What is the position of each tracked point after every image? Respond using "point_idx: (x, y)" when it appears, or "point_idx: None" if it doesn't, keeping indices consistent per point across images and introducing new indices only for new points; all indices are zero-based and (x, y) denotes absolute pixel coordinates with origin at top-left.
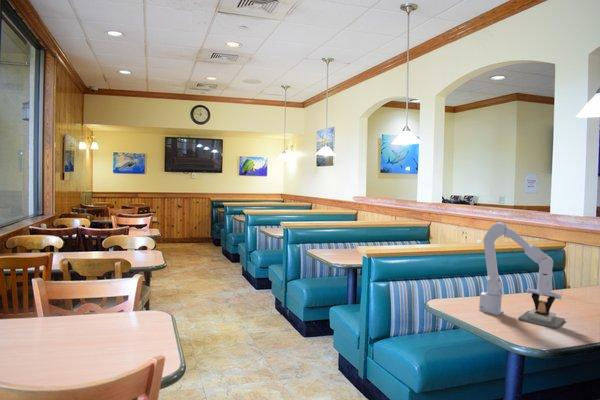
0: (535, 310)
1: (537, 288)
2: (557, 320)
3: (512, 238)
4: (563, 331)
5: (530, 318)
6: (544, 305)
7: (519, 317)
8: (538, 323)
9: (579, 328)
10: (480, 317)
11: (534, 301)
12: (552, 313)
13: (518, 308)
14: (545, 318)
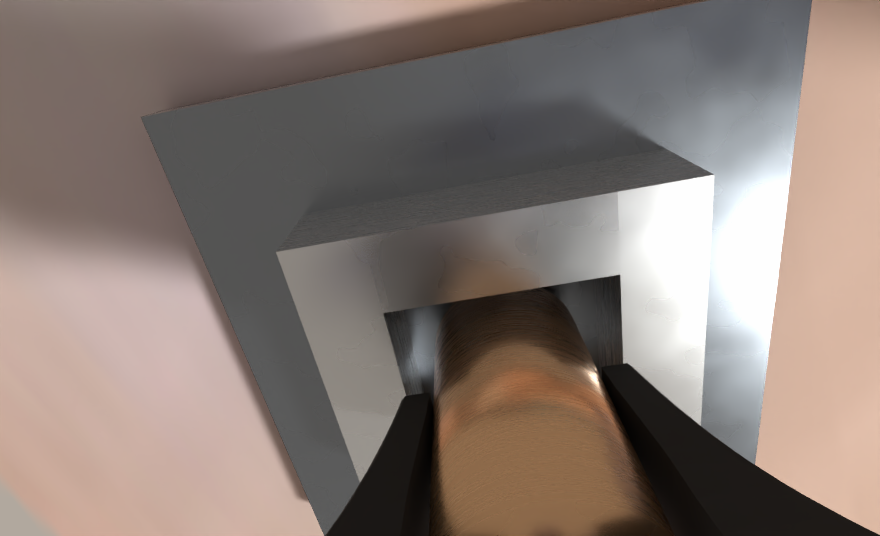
0: None
1: None
2: (330, 416)
3: None
4: (59, 108)
5: (618, 156)
6: (460, 468)
7: (797, 28)
8: (432, 56)
9: (96, 417)
10: None
11: (765, 490)
12: None
13: (869, 518)
14: (374, 220)
